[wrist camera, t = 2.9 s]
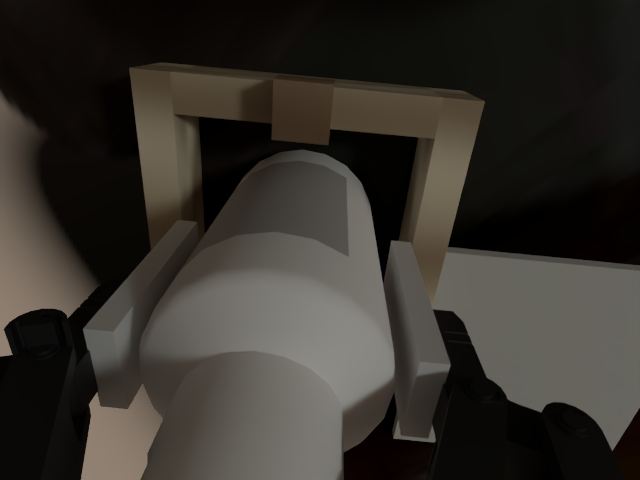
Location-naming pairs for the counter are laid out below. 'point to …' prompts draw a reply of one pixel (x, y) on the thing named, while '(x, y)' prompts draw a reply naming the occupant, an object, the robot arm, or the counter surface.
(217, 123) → the counter surface
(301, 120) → the wooden square frame
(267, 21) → the counter surface
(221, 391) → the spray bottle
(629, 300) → the mat
